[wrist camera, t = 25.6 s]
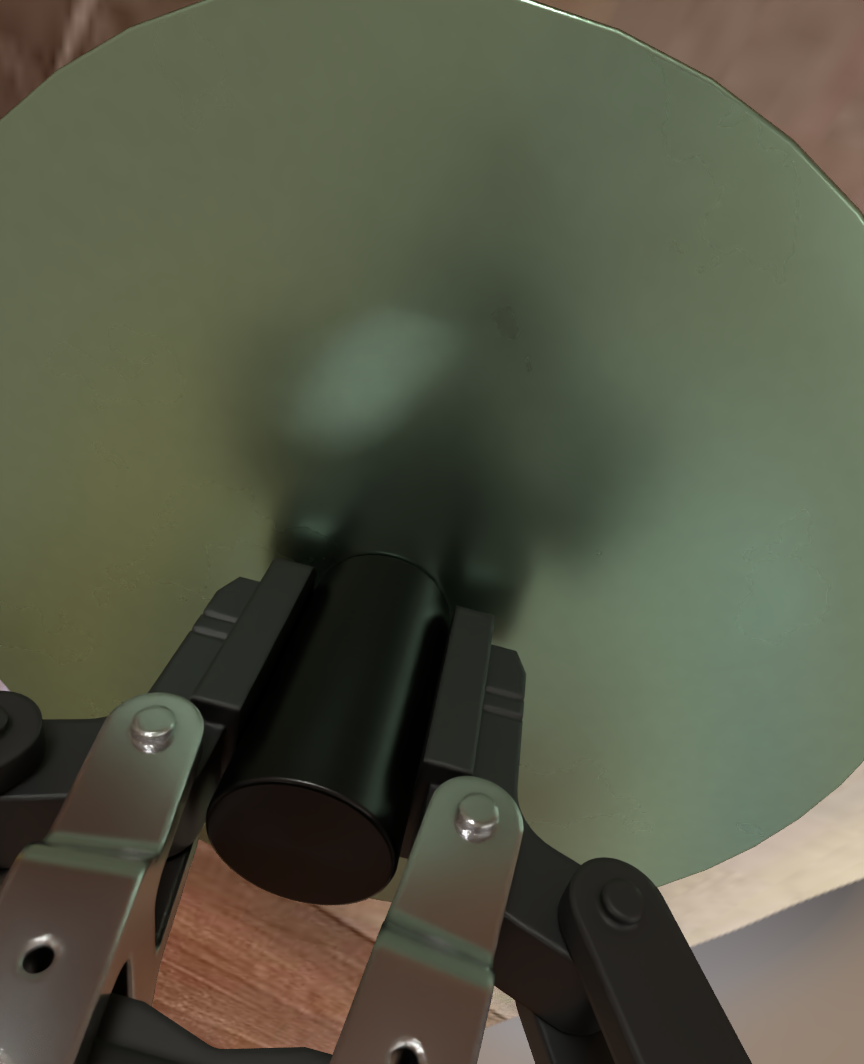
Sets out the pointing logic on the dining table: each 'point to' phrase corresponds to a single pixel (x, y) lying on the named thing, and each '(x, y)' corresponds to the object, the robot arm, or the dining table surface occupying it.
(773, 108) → the dining table surface
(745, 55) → the dining table surface
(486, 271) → the lid
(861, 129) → the dining table surface
